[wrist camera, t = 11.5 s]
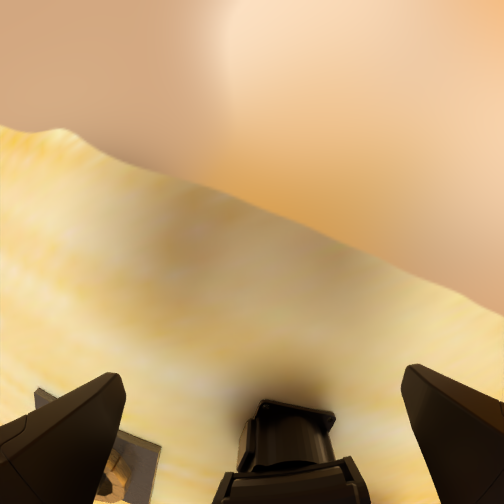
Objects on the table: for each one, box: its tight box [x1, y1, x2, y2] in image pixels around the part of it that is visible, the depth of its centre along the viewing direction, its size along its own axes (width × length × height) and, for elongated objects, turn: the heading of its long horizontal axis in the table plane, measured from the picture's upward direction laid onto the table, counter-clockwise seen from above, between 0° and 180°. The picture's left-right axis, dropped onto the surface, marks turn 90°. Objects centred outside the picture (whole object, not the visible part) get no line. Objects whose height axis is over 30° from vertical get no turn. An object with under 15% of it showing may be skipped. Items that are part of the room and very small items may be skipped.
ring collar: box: [34, 388, 161, 504], centre depth 22 cm, size 14×12×4 cm
